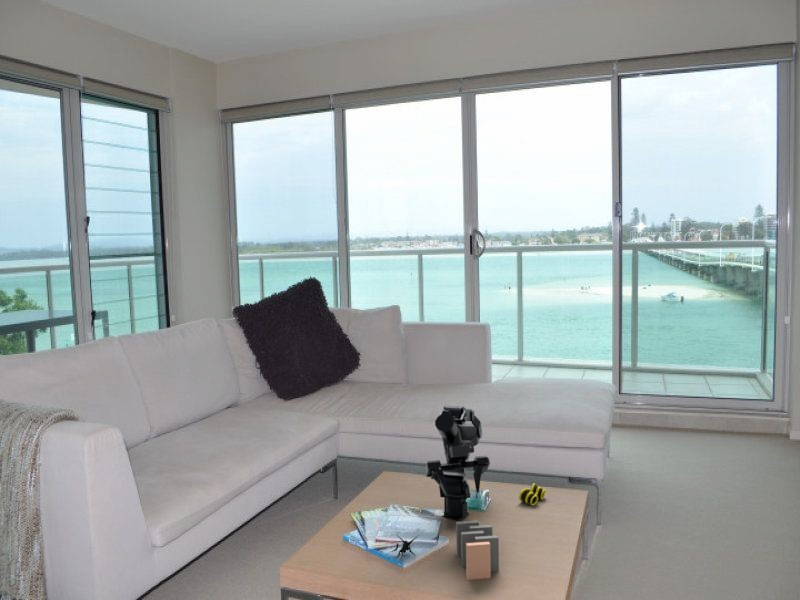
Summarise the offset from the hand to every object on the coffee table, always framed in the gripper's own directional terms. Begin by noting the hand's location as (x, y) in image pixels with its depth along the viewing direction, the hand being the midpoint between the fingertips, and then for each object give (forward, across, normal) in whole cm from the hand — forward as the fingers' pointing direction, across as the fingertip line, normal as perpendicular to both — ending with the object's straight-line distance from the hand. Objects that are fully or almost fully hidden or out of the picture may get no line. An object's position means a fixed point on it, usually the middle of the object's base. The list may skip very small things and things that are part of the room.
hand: (462, 494), depth 190 cm
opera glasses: (-4, +29, +26) cm, 39 cm away
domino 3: (+21, -2, -4) cm, 21 cm away
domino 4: (+23, +1, -6) cm, 24 cm away
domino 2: (+16, -2, +1) cm, 17 cm away
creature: (+15, -19, +3) cm, 25 cm away
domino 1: (+19, +1, -1) cm, 19 cm away
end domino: (+25, -2, -8) cm, 27 cm away
